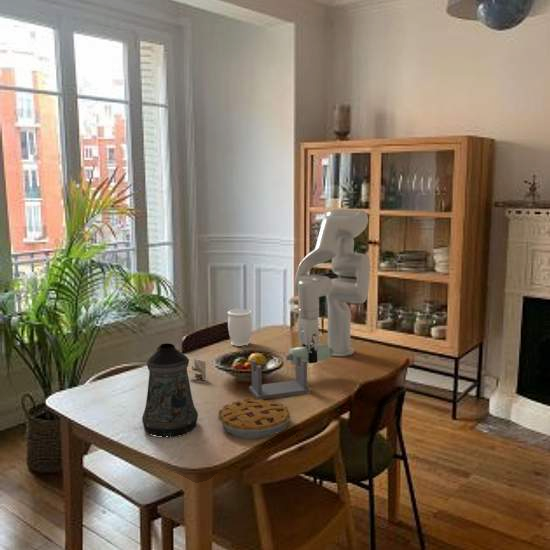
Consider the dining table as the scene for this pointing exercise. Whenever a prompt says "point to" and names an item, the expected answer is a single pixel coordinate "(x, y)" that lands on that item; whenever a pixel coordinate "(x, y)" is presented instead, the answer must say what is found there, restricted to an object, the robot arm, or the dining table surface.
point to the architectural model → (199, 369)
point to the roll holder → (280, 387)
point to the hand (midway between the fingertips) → (309, 359)
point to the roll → (304, 353)
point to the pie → (254, 418)
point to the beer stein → (169, 394)
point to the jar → (239, 326)
